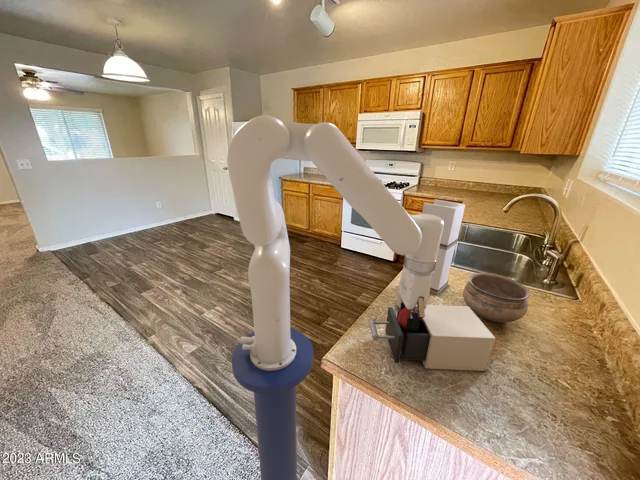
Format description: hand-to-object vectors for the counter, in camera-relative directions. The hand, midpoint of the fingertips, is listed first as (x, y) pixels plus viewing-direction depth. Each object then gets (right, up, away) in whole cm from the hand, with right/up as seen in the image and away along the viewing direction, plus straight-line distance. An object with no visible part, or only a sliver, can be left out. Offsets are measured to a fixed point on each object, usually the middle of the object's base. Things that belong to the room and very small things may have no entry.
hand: (408, 321), depth 73 cm
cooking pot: (+35, -4, +20) cm, 40 cm away
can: (+7, -2, +23) cm, 24 cm away
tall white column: (+22, +3, +39) cm, 44 cm away
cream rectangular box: (+12, -10, +3) cm, 15 cm away
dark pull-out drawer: (0, -8, +3) cm, 9 cm away
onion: (0, -3, +1) cm, 3 cm away
